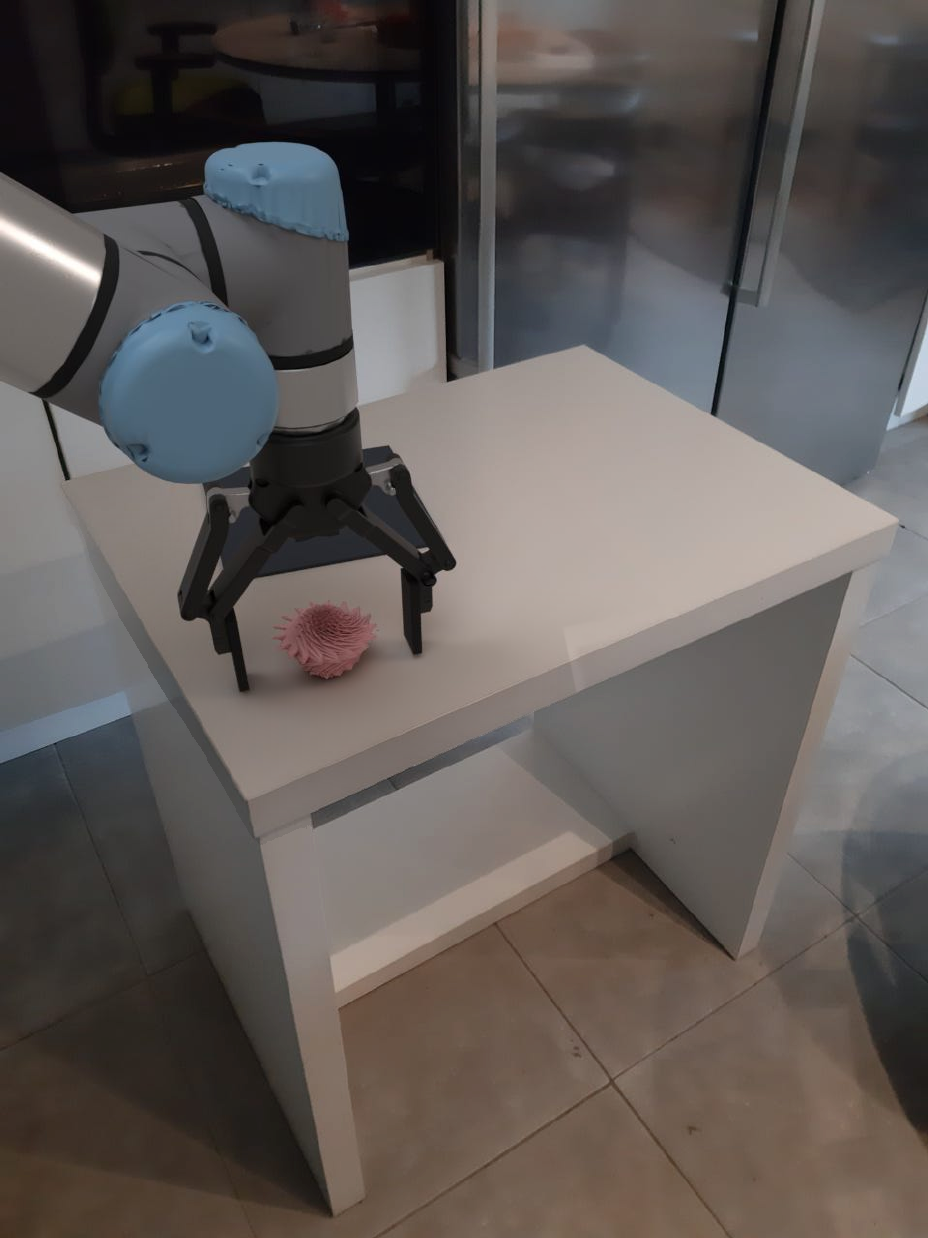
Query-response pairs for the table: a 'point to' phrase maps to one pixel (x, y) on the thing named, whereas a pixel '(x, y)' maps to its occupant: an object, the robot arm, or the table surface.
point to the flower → (326, 638)
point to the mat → (323, 547)
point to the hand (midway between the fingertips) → (329, 661)
